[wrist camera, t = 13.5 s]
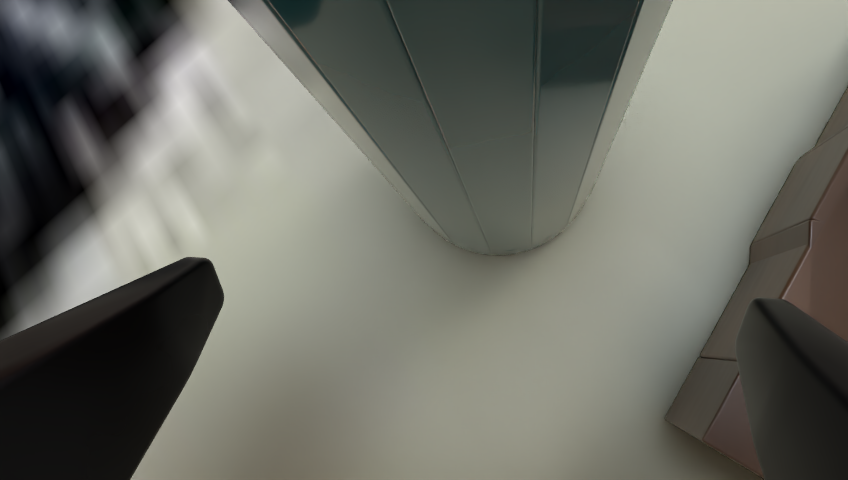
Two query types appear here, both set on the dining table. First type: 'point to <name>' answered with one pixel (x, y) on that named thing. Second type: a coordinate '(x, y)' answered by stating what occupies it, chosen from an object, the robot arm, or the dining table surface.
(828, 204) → the holder
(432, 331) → the dining table surface
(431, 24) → the tumbler
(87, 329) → the robot arm
